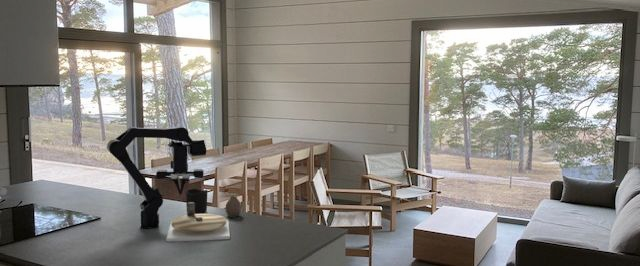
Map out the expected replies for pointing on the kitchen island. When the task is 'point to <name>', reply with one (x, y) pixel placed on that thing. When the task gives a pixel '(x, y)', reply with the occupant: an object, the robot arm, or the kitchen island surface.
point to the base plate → (198, 234)
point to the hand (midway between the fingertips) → (180, 194)
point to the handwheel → (198, 220)
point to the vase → (233, 207)
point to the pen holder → (197, 200)
